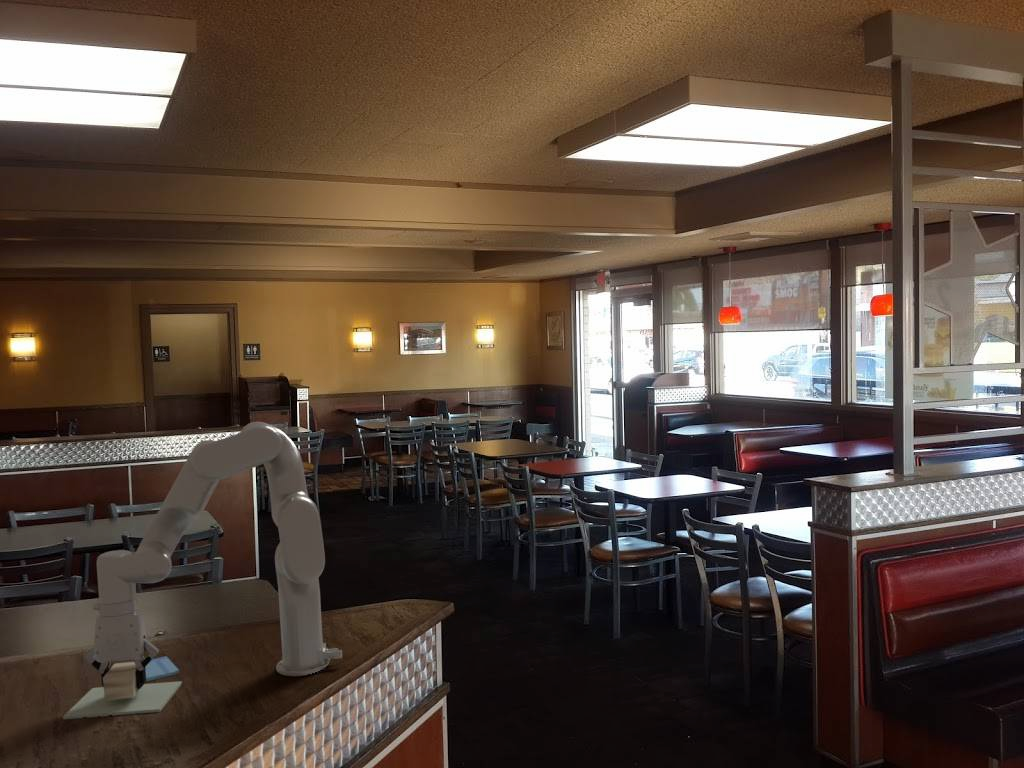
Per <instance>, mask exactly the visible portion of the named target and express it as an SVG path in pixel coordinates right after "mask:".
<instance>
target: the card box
mask: <svg viewBox="0 0 1024 768" xmlns="http://www.w3.org/2000/svg"><path fill="white" fill-rule="evenodd" d="M109 669H110V670H109V671H108V672H107V673H106V675H105V676H104V677H103V686H102V687H104V699H105V701H106V700H115V699H124V698H134V697H135V695H136V694H137V692H138V691H139V689H137V684H136V671H137V667H136V665H135V663H134V661H124V662H114V664H113V665H112V666H111V668H109Z"/></svg>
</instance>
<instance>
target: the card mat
mask: <svg viewBox="0 0 1024 768" xmlns="http://www.w3.org/2000/svg"><path fill="white" fill-rule="evenodd" d="M182 684H183V681H181V680H180V681H168V682H155V683H144V685H143V686H142V687H141V688H140V689H139V691H138V692H137V694H136V695H135V697H134V698H124V699H115V700H106V701H105V699H104V686H100V687H92V688H91V689H90V690H89V691H88V692H86V693H85V695H83V696H82V698H81V699H79V700H78V701H77V702H76V703H75V705H73V706H72V707H71V708H70V709H69V710H68V711H67V712H66V713H65V714H64V715H63V716H62V719H63V720H72V719H84V718H83V717H87V718H97V717H98V716H100V717H110V716H109V715H112V716H125V715H135V714H136V715H138V714H149V713H150V714H151V713H160V712H161V711H162V710H163V708H165V706H166V705H167V703H168V702H169V701H170V700H171V699H172V697H173V696H174V695H175V694H176V692H177V691H178V689H179V688H180V687H181V686H182ZM137 713H138V714H137ZM98 718H99V717H98Z"/></svg>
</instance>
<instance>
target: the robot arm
mask: <svg viewBox="0 0 1024 768" xmlns="http://www.w3.org/2000/svg"><path fill="white" fill-rule="evenodd" d="M301 456H302V455H301V453H300V451H299V450H298V447H297V446H296V444H295V442H294V441H293V440H292V439H291V437H290V436H288V435H287V434H286V433H285V432H284V431H283V430H281V429H279V428H278V427H276V426H274V425H272V424H269V423H267V422H263V421H252V422H250V423H248V424H246V425H244V426H243V428H241V431H240V432H238V433H236V434H232V435H230V436H227V437H224V438H221V439H218V440H213V439H211V440H209V439H207V440H206V439H205V440H202V441H200V442H198V443H197V444H196V445H195V446H194V447H193V448H192V451H191V452H190V453H189V455H188V457H187V459H186V461H185V462H184V465H183V466H182V468H181V470H180V472H179V473H178V475H177V478H176V479H175V481H174V483H173V484H172V486H171V488H170V490H169V491H168V493H167V495H166V497H165V499H164V500H163V503H161V505H160V508H159V509H158V511H157V513H156V515H155V516H154V518H153V520H152V522H151V523H150V525H149V527H148V529H147V531H146V532H145V534H144V536H143V538H142V540H141V541H140V543H139V546H138V547H137V549H136V552H134V553H133V552H131V551H130V550H125V549H118V550H110V551H106V552H104V553H103V552H102V553H101V554H99V556H97V559H96V573H97V575H96V576H97V585H98V586H97V589H98V600H99V602H98V603H93V610H94V611H98V613H99V615H97V616H96V620H95V625H94V626H95V627H94V639H93V640H94V642H93V643H94V644H93V645H94V646H93V647H92V648H91V649H90V650H89V652H88V653H87V654H86V655H85V656H84V659H85V660H86V661H87V662H88V663H89V664H91V665H92V667H93V668H95V669H96V670H97V671H98V673H99V675H101V687H104V686H103V677H104V676H105V675H106V673H107V672H108V671H109V670H110V669H111V668H110V666H111V665H110V664H111V663H122V662H134V663H135V665H136V667H137V671H136V684H137V689H140V688H141V687H142V686H143V685H144V684H146V683H147V682H146V670H145V667H146V666H147V665H148V663H149V662H150V661H151V660H152V659H155V657H156V656H157V655H158V653H160V649H159V648H158V647H157V646H155V645H154V644H153V643H152V642H150V640H148V639H147V638H148V637H147V632H146V631H147V630H146V627H145V626H146V625H145V621H144V618H143V615H142V612H141V610H139V609H138V598H137V584H155V583H158V582H161V581H164V580H165V579H166V578H167V577H168V576H169V574H170V573H171V571H172V568H173V567H172V566H173V564H172V559H171V557H172V555H173V553H174V552H175V550H176V547H177V546H178V544H179V542H180V541H181V538H182V537H183V535H184V534H185V532H186V531H187V530H188V528H189V527H190V526H191V524H192V523H194V522H195V521H196V520H198V519H199V518H200V517H201V515H202V514H203V512H204V510H205V509H206V506H207V504H208V502H209V500H210V498H211V497H212V495H213V493H214V491H215V489H216V487H217V485H218V484H219V482H220V480H224V479H227V478H229V477H233V476H235V475H238V474H240V473H242V472H246V471H248V470H251V469H253V468H257V467H258V466H262V465H263V466H264V468H265V472H266V477H267V481H268V482H267V483H268V488H269V496H270V506H271V508H270V509H271V518H272V521H273V522H274V524H275V526H276V527H277V529H278V534H279V536H278V537H279V543H278V545H277V547H276V549H275V553H274V564H275V566H274V567H275V573H276V581H277V587H278V603H279V604H278V605H279V608H278V609H279V620H280V621H279V622H280V637H281V638H280V639H281V655H282V659H281V660H280V661H279V662H277V663H276V665H275V666H276V672H277V673H278V674H280V675H283V676H285V677H286V676H288V677H302V676H309V675H308V674H310V675H313V674H312V673H314V674H316V673H315V672H317V673H319V672H318V671H320V670H322V669H323V668H324V667H326V666H327V665H328V664H329V662H330V660H331V659H334V660H337V659H338V660H339V659H343V649H340V650H339V648H338V647H335V648H329V647H327V644H326V642H324V641H323V623H322V622H323V621H322V609H321V608H322V607H321V606H322V605H321V588H320V581H319V580H320V579H319V577H320V576H321V575H322V573H323V571H324V569H325V565H326V555H325V553H326V552H325V547H324V545H325V544H324V539H323V538H324V537H323V531H322V522H321V517H320V513H319V510H318V507H317V505H316V503H315V502H314V501H313V500H312V499H311V498H310V497H309V493H308V487H307V480H306V474H305V469H304V464H303V460H302V457H301ZM147 651H148V652H149V654H148V655H147V656H146V657H145V656H144V654H145V653H147ZM320 672H321V671H320Z"/></svg>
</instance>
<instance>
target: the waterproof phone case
mask: <svg viewBox="0 0 1024 768" xmlns="http://www.w3.org/2000/svg"><path fill="white" fill-rule="evenodd" d="M145 670H146V682H145V683H147V682H150V681H151V682H152V681H154V680H159V679H163V678H168V677H173V676H176V675H177V674H180V669H179V668H178V666H176V665H175V664H174V663H173V661H171V659H169V657H168V656H167V655H165V656H161V657H157V658H153V659H152V660H151V661H150V662H149V663H148V665H147V666H146V667H145Z"/></svg>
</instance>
